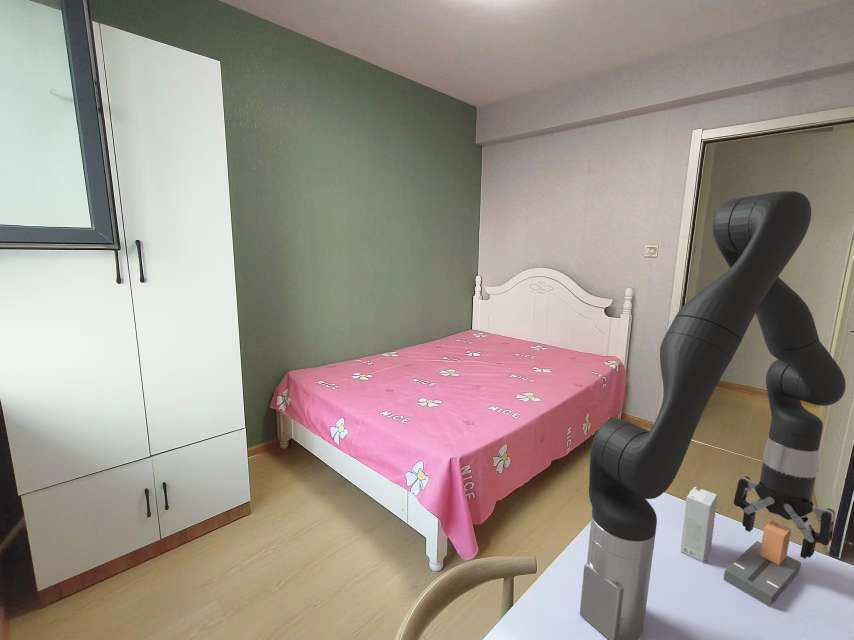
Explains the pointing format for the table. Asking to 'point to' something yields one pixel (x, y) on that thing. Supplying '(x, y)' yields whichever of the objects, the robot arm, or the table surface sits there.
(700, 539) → the skincare box
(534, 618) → the table surface
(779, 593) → the fader console
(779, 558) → the fader tab
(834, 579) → the table surface
